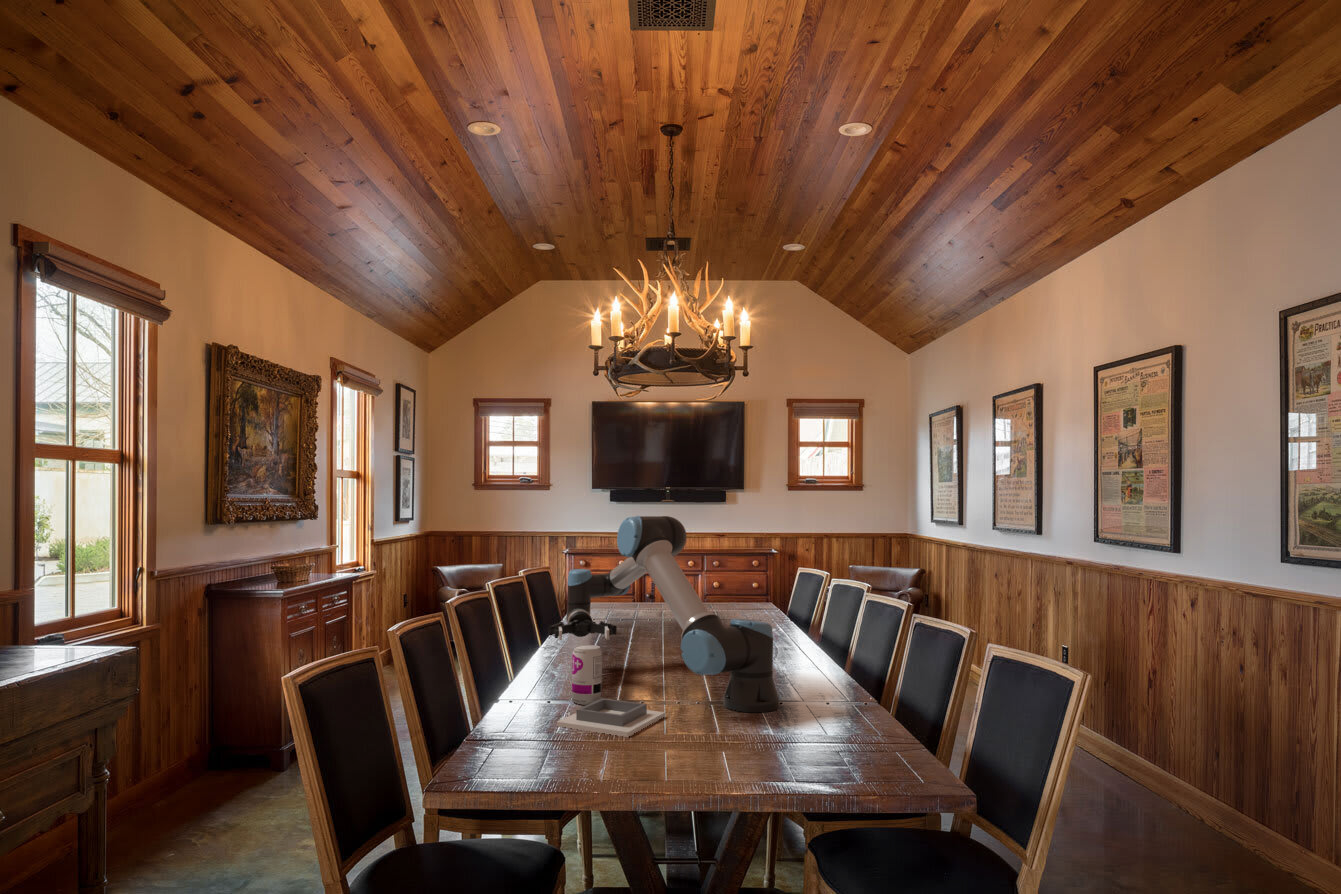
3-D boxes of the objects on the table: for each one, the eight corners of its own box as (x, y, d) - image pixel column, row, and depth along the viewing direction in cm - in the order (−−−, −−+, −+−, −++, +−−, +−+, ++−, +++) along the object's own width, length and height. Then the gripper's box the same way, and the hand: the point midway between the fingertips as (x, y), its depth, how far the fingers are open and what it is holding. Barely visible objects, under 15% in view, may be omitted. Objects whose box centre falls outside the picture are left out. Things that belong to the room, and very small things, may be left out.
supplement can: (578, 707, 223) (579, 650, 224) (567, 700, 230) (568, 645, 231) (606, 703, 227) (606, 648, 227) (594, 697, 234) (595, 643, 235)
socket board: (664, 717, 213) (665, 702, 214) (627, 737, 195) (628, 721, 196) (598, 707, 222) (598, 693, 222) (556, 726, 204) (556, 711, 204)
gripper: (619, 634, 262) (627, 647, 241) (539, 635, 258) (540, 649, 237) (620, 610, 262) (627, 621, 241) (540, 611, 258) (541, 622, 237)
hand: (584, 635), depth 239 cm, fingers open, 13 cm apart
